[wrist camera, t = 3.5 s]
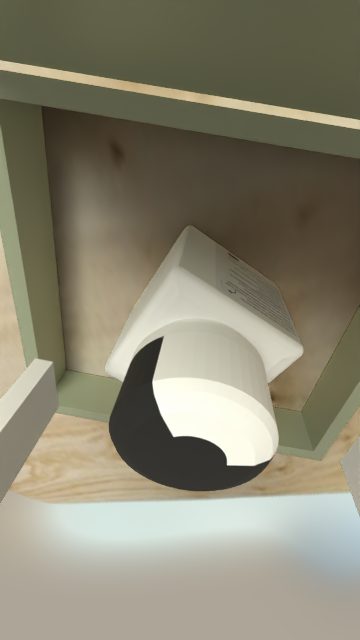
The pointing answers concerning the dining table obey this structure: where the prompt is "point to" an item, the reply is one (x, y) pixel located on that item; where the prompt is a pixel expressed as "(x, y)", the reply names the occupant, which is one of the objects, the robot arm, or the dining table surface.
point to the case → (39, 249)
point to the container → (201, 369)
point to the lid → (199, 46)
